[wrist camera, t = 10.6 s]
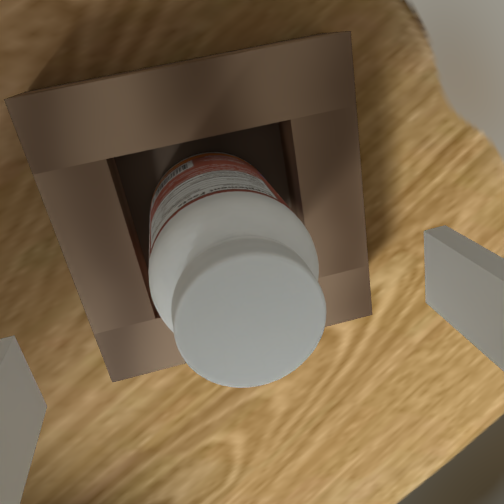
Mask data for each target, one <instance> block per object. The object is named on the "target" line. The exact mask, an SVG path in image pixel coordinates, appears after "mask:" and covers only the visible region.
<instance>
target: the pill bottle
mask: <svg viewBox="0 0 504 504" xmlns="http://www.w3.org/2000/svg"><path fill="white" fill-rule="evenodd" d="M148 275H149V287H150V293H151V297H152V300H153V303H154V305H155V307H156V309H157V311H158V313H159V315H160V317H161V318H162V320H163V321H164V323H165V324H166V325H167V326H168V328H169V329H170V330H171V331H172V332H173V333H174V337H175V341H176V345H177V347H178V350H179V352H180V354H181V356H182V357H183V359H184V360H185V362H186V363H187V364H188V365H189V367H190V368H192V369H193V370H194V371H195V372H196V373H197V374H199V375H200V376H202V377H204V378H205V379H207V380H209V381H211V382H214V383H217V384H220V385H224V386H229V387H238V388H244V387H255V386H260V385H264V384H268V383H271V382H273V381H276V380H278V379H281V378H282V377H284V376H286V375H288V374H289V373H291V372H292V371H294V370H295V369H297V368H298V367H299V366H300V365H301V364H302V363H303V362H304V361H305V360H306V359H307V358H308V357H309V356H310V355H311V353H312V352H313V351H314V349H315V348H316V346H317V344H318V342H319V341H320V339H321V336H322V334H323V331H324V327H325V322H326V302H325V298H324V294H323V291H322V289H321V287H320V285H319V283H318V277H319V263H318V257H317V253H316V249H315V246H314V243H313V240H312V238H311V236H310V234H309V232H308V230H307V229H306V227H305V226H304V224H303V223H302V222H301V220H300V219H299V218H298V217H297V216H296V214H295V213H294V212H293V211H292V210H291V209H290V208H289V206H288V205H287V204H286V203H285V202H284V200H283V199H282V198H281V197H280V196H279V194H278V193H277V192H276V191H275V190H274V189H273V188H272V186H271V185H270V184H269V183H268V182H267V181H266V179H265V178H264V177H263V176H262V175H261V173H260V172H259V171H258V170H257V169H255V168H254V167H253V166H252V165H251V164H249V163H248V162H246V161H245V160H243V159H241V158H239V157H236V156H234V155H231V154H226V153H220V152H206V153H200V154H196V155H193V156H190V157H188V158H185V159H183V160H182V161H180V162H178V163H177V164H175V165H174V166H173V167H172V168H170V169H169V170H168V171H167V172H166V173H165V174H164V176H163V177H162V178H161V180H160V181H159V183H158V185H157V186H156V189H155V191H154V193H153V197H152V201H151V207H150V234H149V270H148Z"/></svg>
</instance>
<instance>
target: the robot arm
mask: <svg viewBox="0 0 504 504" xmlns="http://www.w3.org/2000/svg"><path fill="white" fill-rule="evenodd" d="M424 255H425V292H426V303H427V304H428V305H429V306H430V307H432V308H433V309H434V310H435V311H436V312H437V313H438V314H439V315H441V316H442V317H443V318H444V319H445V320H446V321H447V322H448V323H450V324H451V325H452V326H453V327H454V328H455V329H456V330H458V331H459V332H460V333H461V334H462V335H463V336H464V337H465V338H467V339H468V340H469V341H470V342H471V343H472V344H473V345H474V346H476V347H477V348H478V349H479V350H480V351H481V352H482V353H484V354H485V355H486V356H487V357H488V358H489V359H490V360H491V361H493V362H494V363H495V364H496V365H497V366H498V367H499V368H500V369H502V370H503V371H504V258H502V257H500V256H498V255H497V254H495V253H493V252H491V251H489V250H488V249H486V248H484V247H482V246H481V245H479V244H477V243H475V242H474V241H472V240H470V239H468V238H467V237H465V236H463V235H461V234H460V233H458V232H456V231H454V230H453V229H451V228H449V227H447V226H446V225H445V226H441V227H437V228H433V229H429V230H425V231H424ZM46 409H47V405H46V403H45V401H44V398H43V396H42V394H41V392H40V390H39V388H38V385H37V383H36V381H35V379H34V377H33V375H32V372H31V370H30V368H29V366H28V364H27V362H26V360H25V357H24V355H23V353H22V351H21V349H20V347H19V344H18V342H17V340H16V338H15V336H10V337H6V338H2V339H0V504H20V501H21V498H22V494H23V491H24V487H25V484H26V480H27V476H28V473H29V469H30V466H31V462H32V459H33V455H34V451H35V448H36V444H37V441H38V437H39V434H40V430H41V427H42V423H43V419H44V416H45V412H46Z"/></svg>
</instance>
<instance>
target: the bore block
mask: <svg viewBox="0 0 504 504" xmlns="http://www.w3.org/2000/svg"><path fill="white" fill-rule="evenodd" d="M4 101H5V103H6V106H7V109H8V111H9V114H10V116H11V119H12V122H13V124H14V127H15V129H16V132H17V135H18V137H19V140H20V142H21V145H22V148H23V150H24V153H25V156H26V158H27V161H28V163H29V166H30V169H31V171H32V174H33V176H34V179H35V182H36V184H37V187H38V189H39V192H40V195H41V197H42V200H43V203H44V205H45V208H46V210H47V213H48V216H49V218H50V221H51V223H52V226H53V229H54V231H55V234H56V237H57V239H58V242H59V244H60V247H61V250H62V252H63V255H64V257H65V260H66V263H67V265H68V268H69V270H70V273H71V276H72V278H73V281H74V284H75V286H76V289H77V291H78V294H79V297H80V299H81V302H82V304H83V307H84V310H85V312H86V315H87V317H88V320H89V323H90V325H91V328H92V331H93V333H94V336H95V338H96V341H97V344H98V346H99V349H100V351H101V354H102V357H103V359H104V362H105V364H106V367H107V370H108V372H109V375H110V378H111V380H112V382H116V381H120V380H124V379H128V378H131V377H135V376H139V375H143V374H147V373H151V372H154V371H158V370H162V369H166V368H170V367H173V366H177V365H181V364H185V363H186V362H185V360H184V359H183V357H182V356H181V354H180V352H179V350H178V347H177V345H176V341H175V337H174V333H173V332H172V331H171V330H170V329H169V328H168V326H167V325H166V324H165V323H164V321H163V320H162V318H161V317H160V315H159V313H158V311H157V309H156V307H155V305H154V303H153V300H152V297H151V293H150V287H149V275H148V270H149V234H150V207H151V201H152V197H153V193H154V191H155V189H156V186H157V185H158V183H159V181H160V180H161V178H162V177H163V176H164V174H165V173H166V172H167V171H168V170H169V169H170V168H172V167H173V166H174V165H175V164H177V163H178V162H180V161H182V160H183V159H185V158H188V157H190V156H193V155H196V154H200V153H206V152H220V153H226V154H231V155H234V156H236V157H239V158H241V159H243V160H245V161H246V162H248V163H249V164H251V165H252V166H253V167H254V168H255V169H257V170H258V171H259V172H260V173H261V175H262V176H263V177H264V178H265V179H266V181H267V182H268V183H269V184H270V185H271V186H272V188H273V189H274V190H275V191H276V192H277V193H278V194H279V196H280V197H281V198H282V199H283V200H284V202H285V203H286V204H287V205H288V206H289V208H290V209H291V210H292V211H293V212H294V213H295V214H296V216H297V217H298V218H299V219H300V220H301V222H302V223H303V224H304V226H305V227H306V229H307V230H308V232H309V234H310V236H311V238H312V240H313V243H314V246H315V249H316V253H317V257H318V263H319V277H318V283H319V285H320V287H321V289H322V291H323V294H324V298H325V302H326V322H325V327H327V326H331V325H334V324H338V323H342V322H346V321H350V320H354V319H357V318H361V317H365V316H369V315H372V304H371V291H370V278H369V265H368V252H367V239H366V226H365V213H364V200H363V187H362V174H361V161H360V148H359V135H358V122H357V108H356V95H355V82H354V69H353V56H352V43H351V31H345V32H331V33H321V34H316V35H311V36H306V37H301V38H296V39H291V40H286V41H281V42H275V43H270V44H265V45H260V46H255V47H250V48H245V49H240V50H235V51H230V52H225V53H220V54H215V55H209V56H204V57H199V58H194V59H189V60H184V61H179V62H174V63H169V64H164V65H159V66H154V67H148V68H143V69H138V70H133V71H128V72H123V73H118V74H113V75H108V76H103V77H98V78H93V79H88V80H82V81H77V82H72V83H67V84H62V85H57V86H52V87H47V88H42V89H37V90H32V91H27V92H24V93H21V94H18V95H15V96H13V97H10V98H7V99H4Z"/></svg>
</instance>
